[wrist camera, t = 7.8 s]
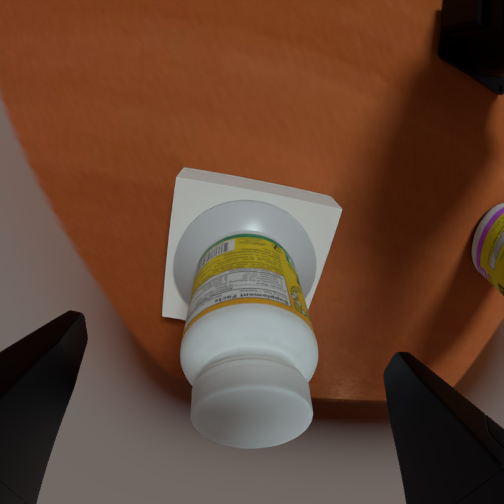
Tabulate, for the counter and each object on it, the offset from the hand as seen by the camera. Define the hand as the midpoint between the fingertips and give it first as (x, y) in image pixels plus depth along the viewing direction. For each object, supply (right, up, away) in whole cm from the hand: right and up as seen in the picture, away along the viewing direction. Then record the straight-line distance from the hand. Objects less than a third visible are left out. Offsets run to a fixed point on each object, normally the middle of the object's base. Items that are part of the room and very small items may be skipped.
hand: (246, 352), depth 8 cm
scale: (0, +3, +12) cm, 13 cm away
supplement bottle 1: (0, +2, +10) cm, 10 cm away
